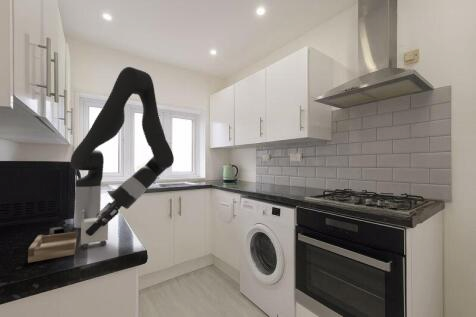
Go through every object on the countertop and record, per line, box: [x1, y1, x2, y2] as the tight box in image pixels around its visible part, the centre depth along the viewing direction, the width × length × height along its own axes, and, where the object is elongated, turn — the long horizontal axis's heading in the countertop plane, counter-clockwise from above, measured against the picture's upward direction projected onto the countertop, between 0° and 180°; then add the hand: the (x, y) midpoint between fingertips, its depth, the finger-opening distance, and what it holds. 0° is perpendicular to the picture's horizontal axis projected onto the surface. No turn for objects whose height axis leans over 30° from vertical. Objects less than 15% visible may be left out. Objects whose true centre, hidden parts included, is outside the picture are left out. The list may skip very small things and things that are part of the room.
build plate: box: [49, 226, 65, 235], centre depth 78 cm, size 12×7×5 cm, turn 58°
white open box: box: [80, 210, 109, 250], centre depth 73 cm, size 5×7×12 cm
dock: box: [27, 231, 78, 264], centre depth 68 cm, size 14×10×4 cm
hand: (88, 231), depth 72 cm, fingers closed on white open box, 5 cm apart
